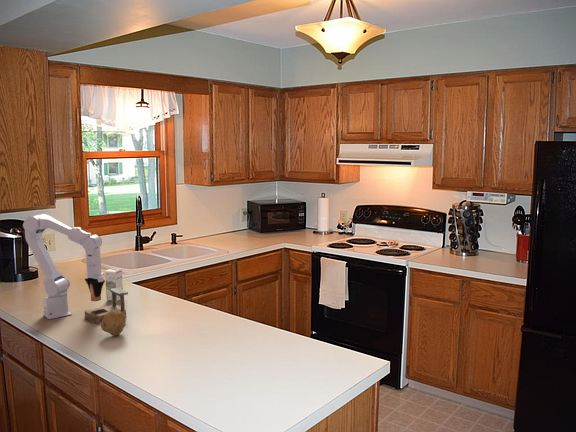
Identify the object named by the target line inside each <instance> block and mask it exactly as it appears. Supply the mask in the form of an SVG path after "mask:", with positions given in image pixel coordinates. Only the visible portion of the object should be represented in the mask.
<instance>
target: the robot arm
mask: <svg viewBox="0 0 576 432" xmlns="http://www.w3.org/2000/svg"><path fill="white" fill-rule="evenodd" d="M22 227H23V229H24V235H25V241H26V243H27V245H28V247H29V249H30V251H31V253H32V254H33V257H34V259H35V260H36V262H37V263H38V266H39V268H40V270H41V271H42V274H43V276H44V277H43V280H42V283H43V285H44V291H45V294H47V296H44V297H43V298H42V306H43V307H42V309H43V316H44V317H45V318H46V319H47V320H51V319H52V320H53V319H57V318H62V317H63V318H64V317H67V316H72V313H71V312H70V311H69V303H68V302H69V301H68V290H69V289H70V286H71V284H70V283H71V282H70V280H69V279H68V278H67V277H66V276H65V275H64V273H63V272H61V271H59V270H58V269H57V266H56V265H55V262H54V261H53V259H52V257H51V255H50V254H49V251H48V249H47V247H46V246H45V244H44V241H43V240H42V235H43V234H44V232H45V231H46V230H48V229H50V230H53V231H55V232H57V233H61V234H63V235H65V236H67V239H68V240H69V241H71V242H73V243H76V244H78V245H80V246H82V248H83V250H84V251H85V261H86V271H85V276H86V278H84V281H85V283H86V284H87V286H88V289H89V291H90V284H91V285H92V287H93V291H94V295H95V297H99V296H101V295H102V290H103V287H104V284H105V283H106V279H104V277H103V276H104V275H105V272H102V262H101V261H102V260H101V246H102V244H103V239H102V237H101V236H99V235H98V234H92V233H91V232H86V231H85V230H83V229H82V228H81V227H80V226H77V227H76V226H75V227H70V226H68V225H66V224H65V223H62V222H61V221H59V220H57V219H55V218H53V217H52V216H51V215H47V214H46V213H39V214H36V215H32V216H31V215H29V216H27V217H26V218H25V219H24V221H23V224H22Z"/></svg>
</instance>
